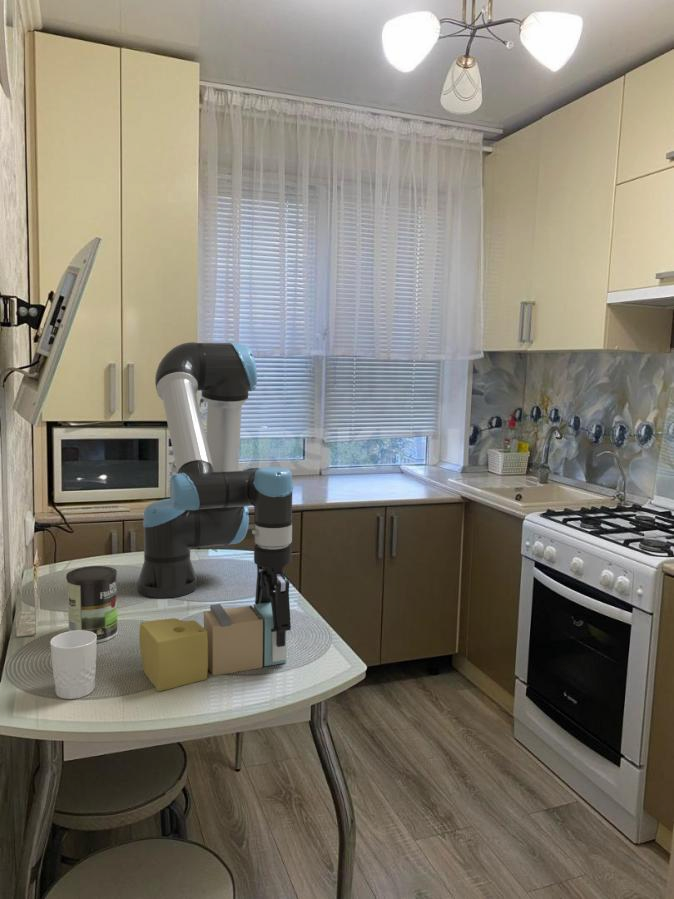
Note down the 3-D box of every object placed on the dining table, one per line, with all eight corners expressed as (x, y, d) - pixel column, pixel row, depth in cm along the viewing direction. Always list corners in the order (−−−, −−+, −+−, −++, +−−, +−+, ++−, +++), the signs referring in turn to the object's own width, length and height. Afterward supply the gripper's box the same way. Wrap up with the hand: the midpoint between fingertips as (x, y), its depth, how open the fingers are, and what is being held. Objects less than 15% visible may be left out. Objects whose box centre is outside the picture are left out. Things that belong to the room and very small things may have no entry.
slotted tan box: (203, 657, 140) (203, 606, 138) (250, 649, 144) (250, 600, 142) (213, 677, 131) (213, 622, 130) (263, 668, 135) (263, 616, 134)
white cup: (91, 700, 122) (89, 647, 120) (45, 701, 121) (43, 648, 120) (102, 679, 129) (101, 629, 128) (60, 680, 129) (58, 630, 127)
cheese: (190, 659, 139) (189, 612, 138) (210, 681, 130) (210, 631, 129) (139, 671, 133) (138, 622, 132) (156, 694, 124) (156, 642, 123)
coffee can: (126, 627, 154) (125, 567, 151) (102, 646, 144) (100, 582, 141) (85, 623, 156) (83, 563, 154) (58, 641, 146) (56, 578, 144)
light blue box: (253, 649, 143) (253, 604, 142) (273, 646, 145) (274, 601, 144) (264, 666, 136) (265, 618, 135) (285, 662, 138) (286, 615, 136)
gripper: (240, 532, 146) (240, 632, 149) (271, 561, 126) (270, 676, 129) (274, 529, 149) (273, 628, 152) (309, 557, 129) (307, 669, 132)
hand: (271, 650), depth 141 cm, fingers open, 9 cm apart
